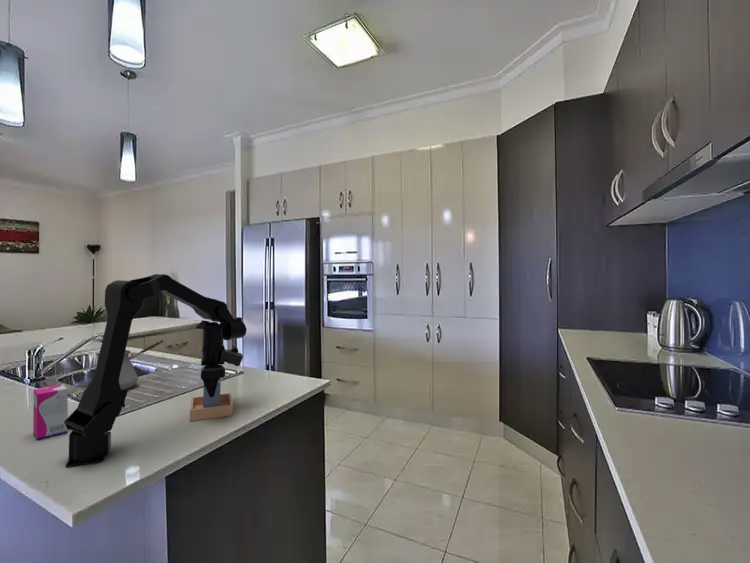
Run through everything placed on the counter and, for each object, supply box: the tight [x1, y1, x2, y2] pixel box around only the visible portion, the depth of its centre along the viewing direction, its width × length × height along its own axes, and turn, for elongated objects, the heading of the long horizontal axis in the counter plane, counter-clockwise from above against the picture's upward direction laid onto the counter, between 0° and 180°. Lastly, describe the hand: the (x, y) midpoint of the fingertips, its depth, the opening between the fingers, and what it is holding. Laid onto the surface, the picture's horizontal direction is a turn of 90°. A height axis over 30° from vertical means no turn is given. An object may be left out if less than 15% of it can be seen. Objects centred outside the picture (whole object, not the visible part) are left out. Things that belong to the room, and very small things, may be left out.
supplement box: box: [32, 383, 69, 441], centre depth 89 cm, size 6×6×12 cm
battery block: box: [203, 378, 222, 408], centre depth 106 cm, size 4×4×8 cm
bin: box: [189, 393, 234, 422], centre depth 106 cm, size 11×11×3 cm
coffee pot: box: [119, 339, 167, 390], centre depth 128 cm, size 21×12×15 cm, turn 149°
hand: (211, 394), depth 106 cm, fingers closed on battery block, 4 cm apart
